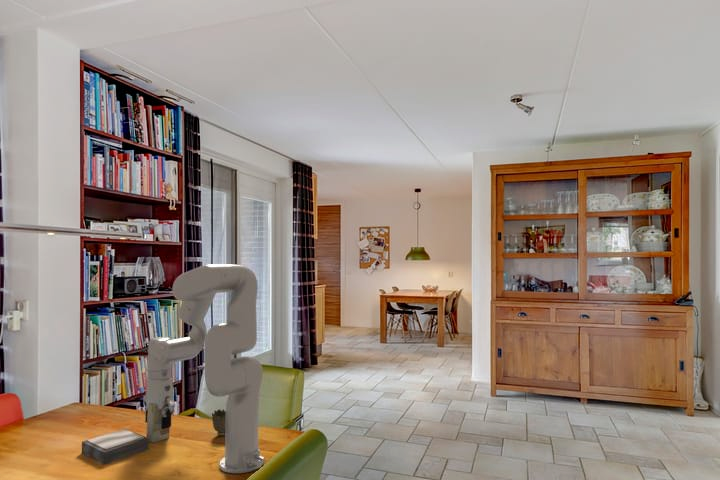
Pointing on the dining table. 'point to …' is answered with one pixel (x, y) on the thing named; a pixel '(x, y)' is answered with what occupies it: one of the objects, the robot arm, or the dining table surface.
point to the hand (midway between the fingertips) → (158, 424)
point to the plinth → (115, 446)
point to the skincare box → (155, 424)
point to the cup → (219, 422)
